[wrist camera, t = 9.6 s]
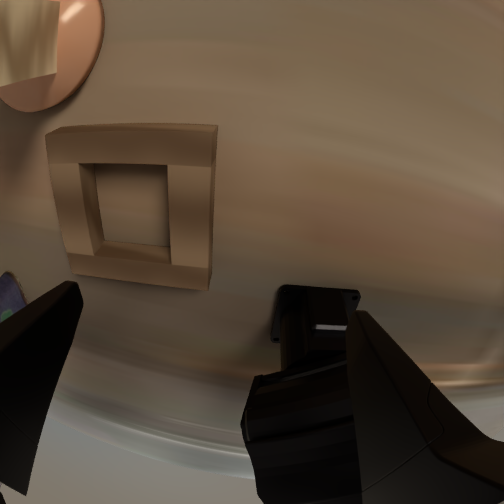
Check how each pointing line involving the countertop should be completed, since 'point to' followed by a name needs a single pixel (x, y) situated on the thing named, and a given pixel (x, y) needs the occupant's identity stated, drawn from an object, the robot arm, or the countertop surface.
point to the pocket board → (179, 199)
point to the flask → (10, 296)
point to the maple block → (28, 39)
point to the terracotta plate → (63, 58)
